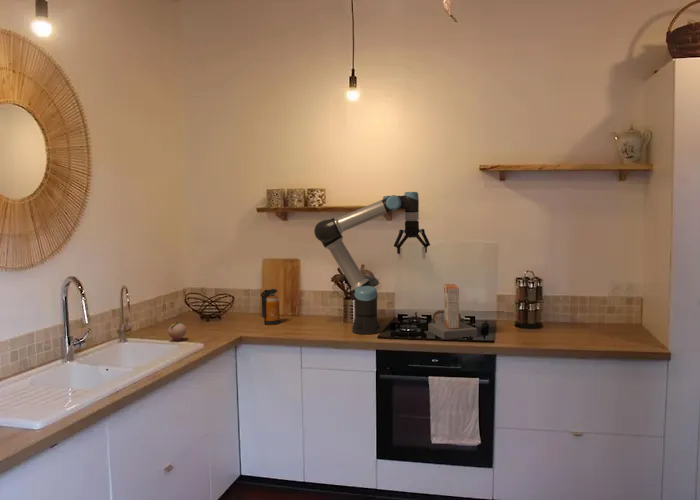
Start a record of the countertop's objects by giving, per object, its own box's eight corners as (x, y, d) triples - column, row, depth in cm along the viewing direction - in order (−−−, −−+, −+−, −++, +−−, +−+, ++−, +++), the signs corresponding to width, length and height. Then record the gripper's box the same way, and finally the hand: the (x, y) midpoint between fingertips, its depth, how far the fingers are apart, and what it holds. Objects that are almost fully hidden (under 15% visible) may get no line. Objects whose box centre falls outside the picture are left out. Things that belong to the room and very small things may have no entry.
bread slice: (460, 325, 322) (460, 310, 321) (461, 326, 319) (460, 311, 318) (432, 325, 323) (432, 310, 323) (433, 326, 320) (433, 311, 320)
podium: (444, 339, 288) (443, 331, 288) (428, 331, 308) (428, 323, 307) (477, 336, 293) (477, 328, 293) (459, 328, 312) (459, 321, 312)
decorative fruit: (181, 343, 290) (180, 323, 290) (166, 342, 292) (165, 322, 291) (189, 338, 300) (189, 319, 299) (174, 338, 301) (174, 319, 300)
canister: (283, 323, 335) (282, 288, 333) (267, 326, 327) (266, 290, 326) (273, 321, 341) (272, 287, 340) (257, 324, 334) (256, 289, 332)
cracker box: (443, 323, 307) (443, 283, 305) (455, 323, 307) (455, 283, 305) (447, 329, 293) (447, 287, 291) (459, 329, 293) (459, 287, 291)
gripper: (392, 221, 310) (392, 260, 312) (435, 220, 316) (436, 259, 318) (387, 220, 317) (388, 259, 319) (430, 219, 324) (430, 257, 325)
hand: (412, 259), depth 318 cm, fingers open, 13 cm apart
